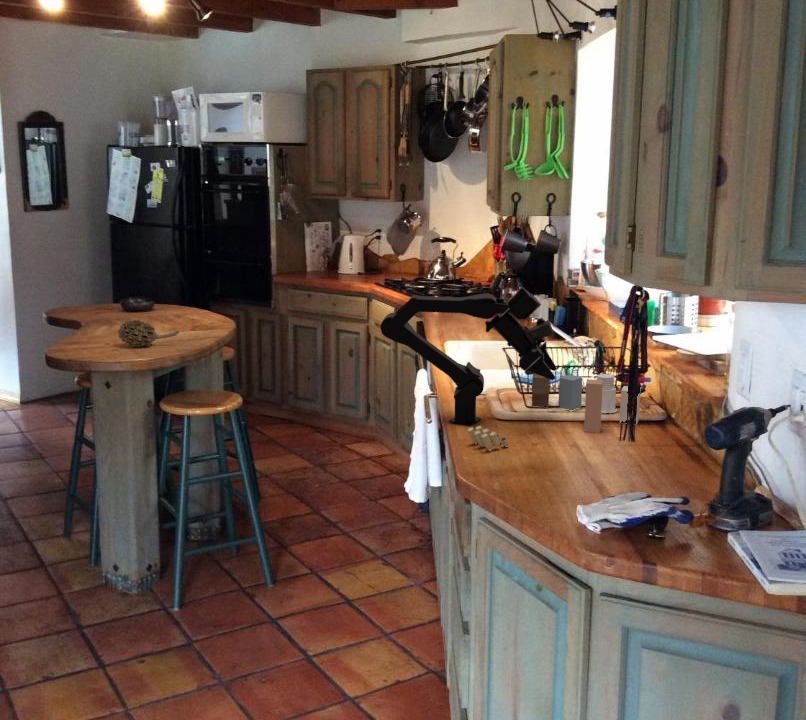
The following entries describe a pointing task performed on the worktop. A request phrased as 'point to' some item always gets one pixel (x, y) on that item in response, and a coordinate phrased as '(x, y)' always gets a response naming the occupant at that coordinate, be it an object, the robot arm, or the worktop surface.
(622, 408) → the cream block
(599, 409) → the terracotta block
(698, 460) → the worktop surface
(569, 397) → the slate blue block
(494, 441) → the ammunition
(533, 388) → the walnut block
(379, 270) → the worktop surface
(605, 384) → the downlight
